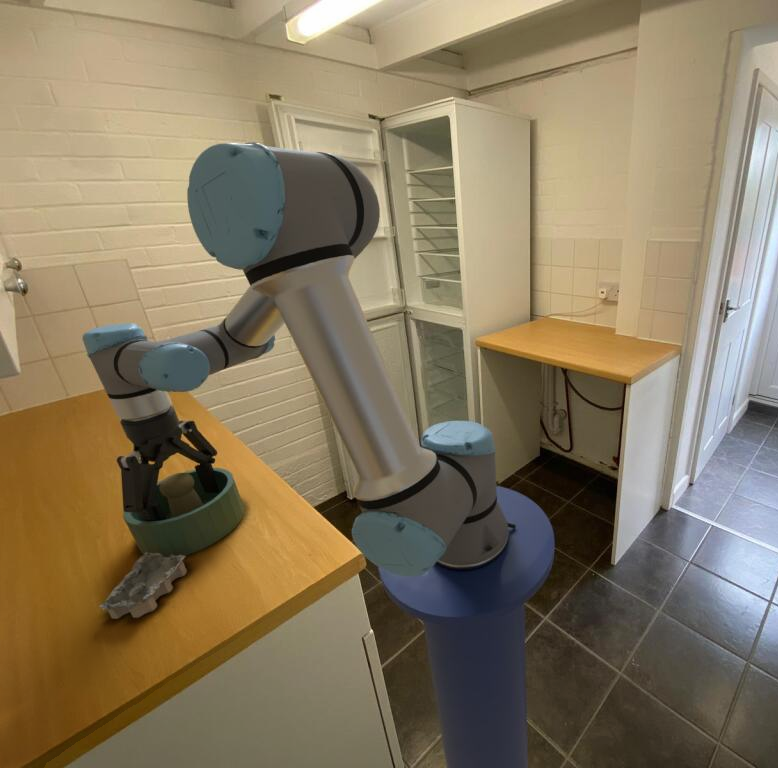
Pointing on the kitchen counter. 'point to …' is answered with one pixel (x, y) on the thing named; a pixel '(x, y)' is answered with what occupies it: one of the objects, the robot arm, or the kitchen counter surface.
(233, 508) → the green round bowl
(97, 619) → the kitchen counter surface
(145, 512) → the robot arm
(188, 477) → the cork
